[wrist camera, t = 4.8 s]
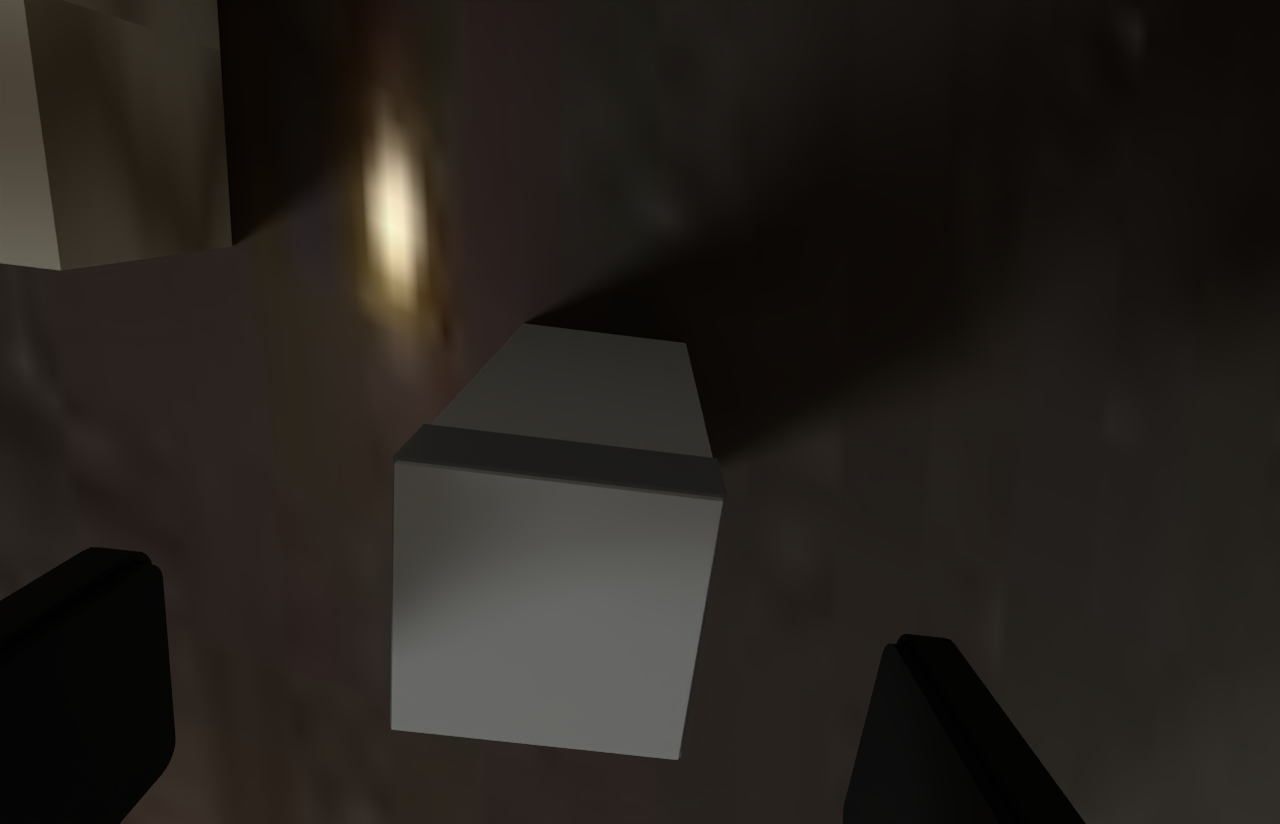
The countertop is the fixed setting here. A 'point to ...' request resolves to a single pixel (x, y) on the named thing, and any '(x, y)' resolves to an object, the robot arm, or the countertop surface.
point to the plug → (557, 548)
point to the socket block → (110, 131)
